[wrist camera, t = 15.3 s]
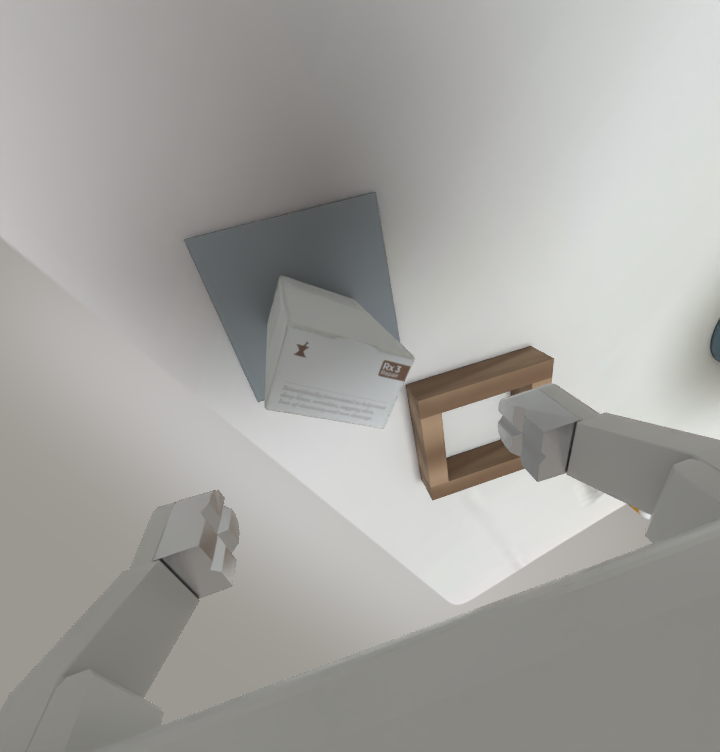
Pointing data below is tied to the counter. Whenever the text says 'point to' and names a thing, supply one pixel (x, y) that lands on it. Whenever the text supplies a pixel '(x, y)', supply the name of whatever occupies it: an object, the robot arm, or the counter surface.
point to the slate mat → (293, 270)
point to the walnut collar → (460, 390)
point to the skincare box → (330, 357)
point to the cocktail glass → (716, 343)
